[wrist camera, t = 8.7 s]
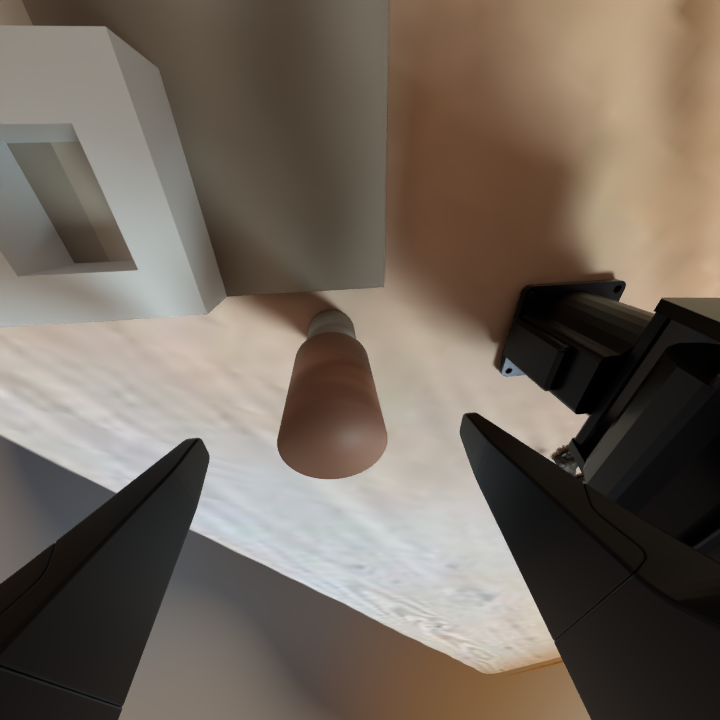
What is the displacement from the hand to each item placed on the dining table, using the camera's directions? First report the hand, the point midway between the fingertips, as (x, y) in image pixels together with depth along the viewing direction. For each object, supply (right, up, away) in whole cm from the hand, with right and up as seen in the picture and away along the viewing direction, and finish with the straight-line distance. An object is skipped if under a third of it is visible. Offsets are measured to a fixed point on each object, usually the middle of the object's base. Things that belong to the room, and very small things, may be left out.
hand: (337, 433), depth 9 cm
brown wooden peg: (-1, +4, +7) cm, 9 cm away
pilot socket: (-10, +9, +2) cm, 14 cm away
